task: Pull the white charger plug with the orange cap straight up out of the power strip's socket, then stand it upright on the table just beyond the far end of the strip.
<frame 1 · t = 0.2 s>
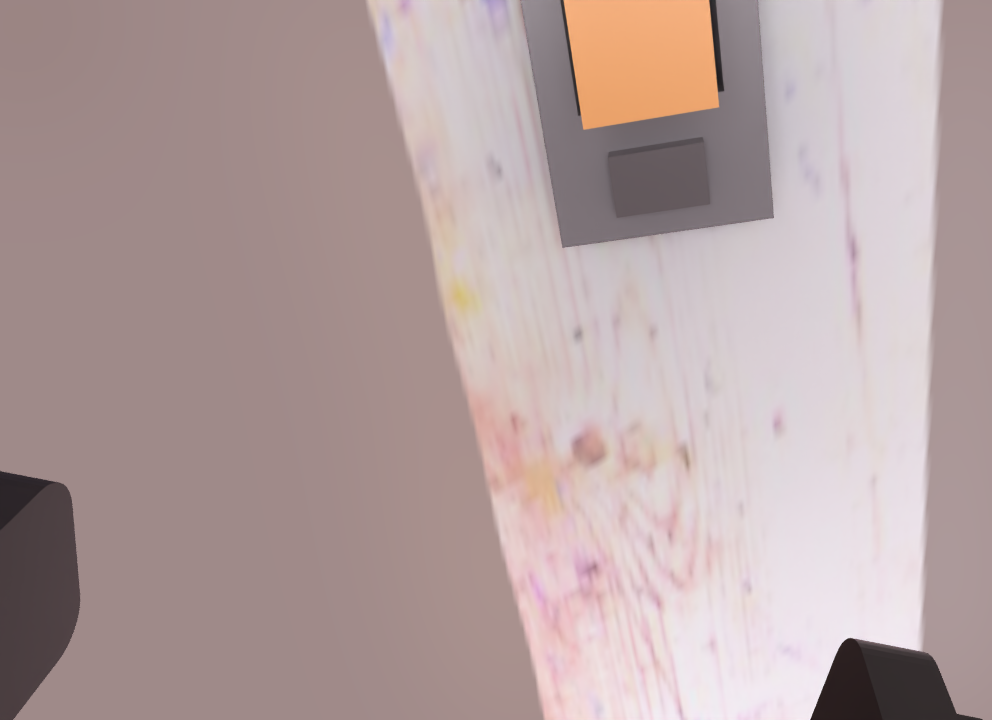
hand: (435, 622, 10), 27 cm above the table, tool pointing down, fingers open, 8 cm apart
charger plug: (638, 6, 31), point 1 cm above the table, touching power strip
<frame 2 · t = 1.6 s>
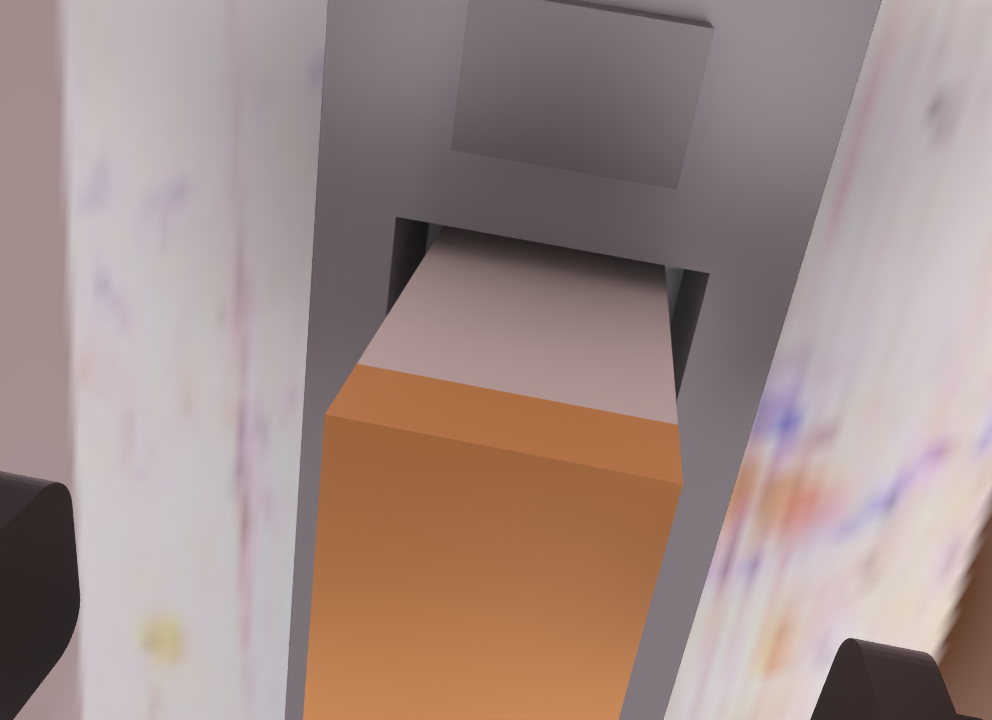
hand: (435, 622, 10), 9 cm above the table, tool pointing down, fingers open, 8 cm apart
charger plug: (540, 332, 17), point 1 cm above the table, touching power strip
power strip: (514, 482, 20), on the table
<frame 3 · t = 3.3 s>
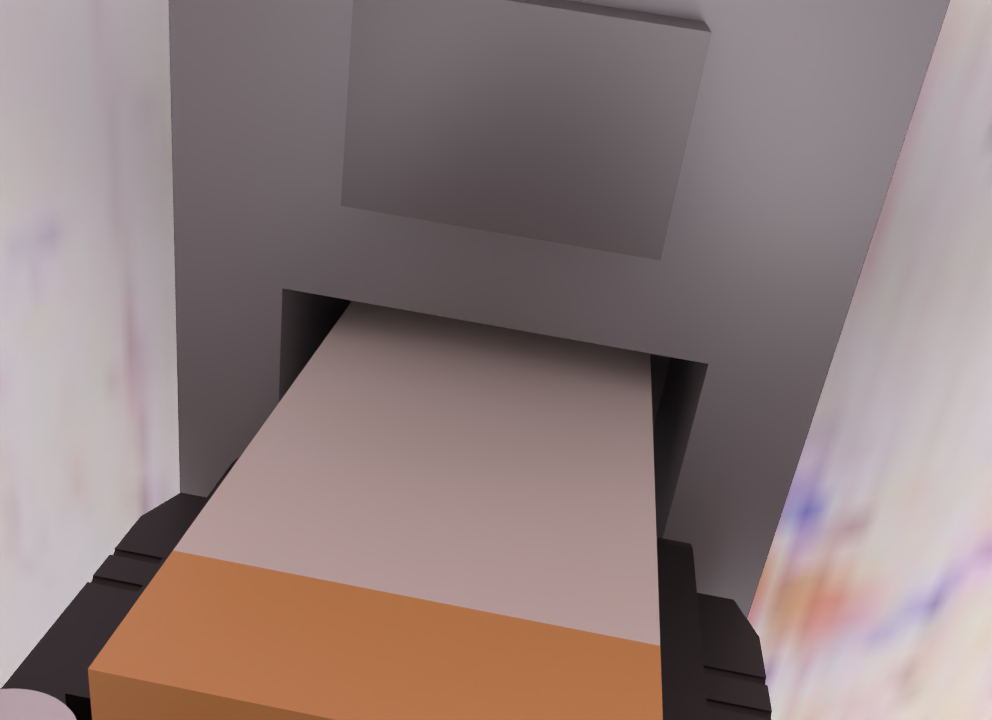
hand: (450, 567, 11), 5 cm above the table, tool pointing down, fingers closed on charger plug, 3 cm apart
charger plug: (496, 409, 14), point 1 cm above the table, touching gripper, power strip
power strip: (474, 578, 17), on the table
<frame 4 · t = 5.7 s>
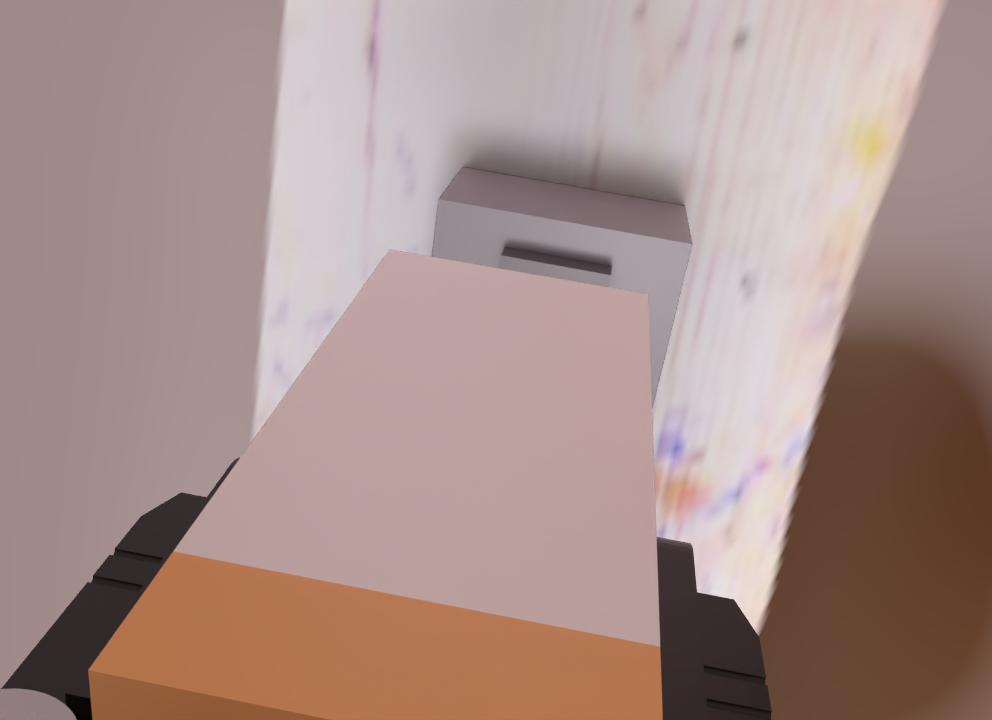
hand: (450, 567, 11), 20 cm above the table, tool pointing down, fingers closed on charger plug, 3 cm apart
charger plug: (496, 410, 14), point 17 cm above the table, touching gripper
power strip: (518, 483, 34), on the table
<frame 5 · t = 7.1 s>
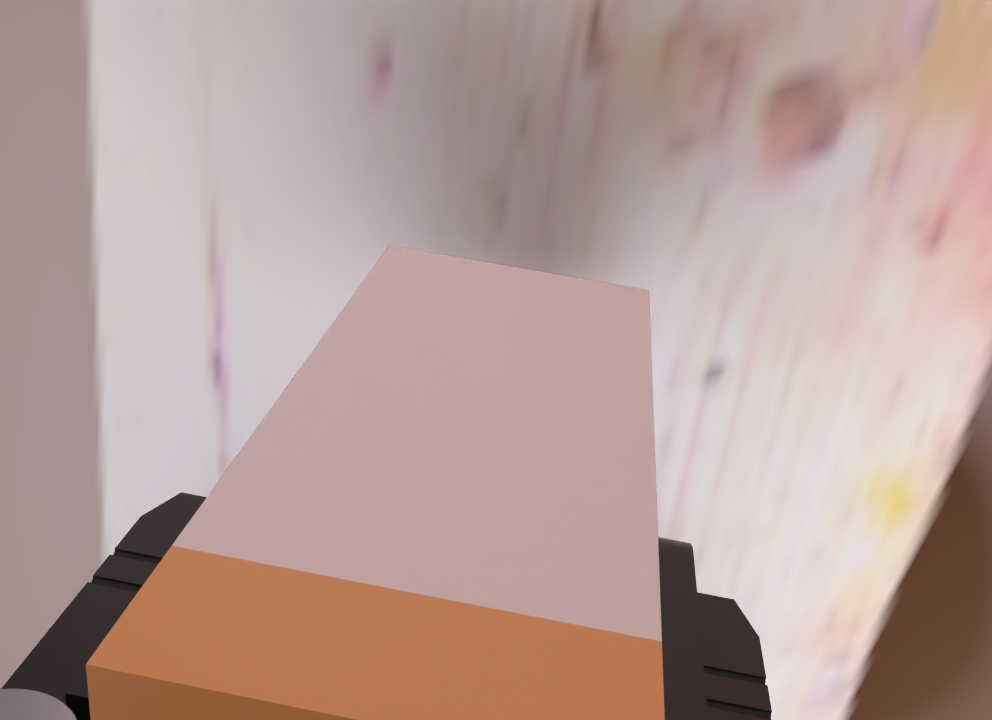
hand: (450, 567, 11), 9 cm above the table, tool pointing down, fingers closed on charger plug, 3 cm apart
charger plug: (496, 406, 14), point 6 cm above the table, touching gripper
when the fingers open (5 cm above the table, at t = 8.3 s): charger plug drops 2 cm, on the table.
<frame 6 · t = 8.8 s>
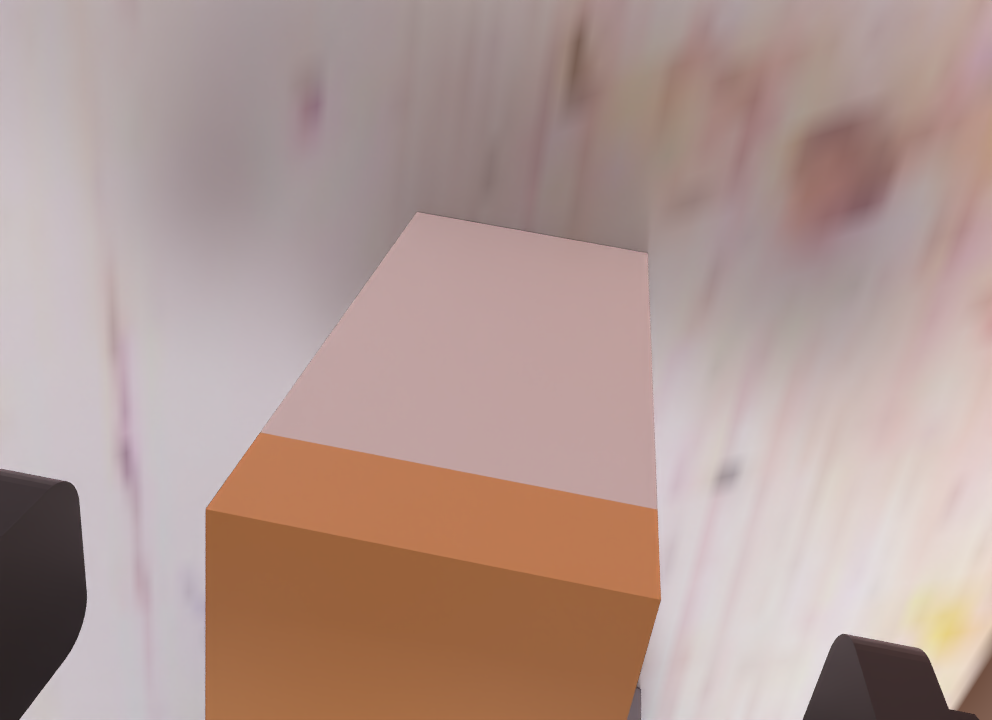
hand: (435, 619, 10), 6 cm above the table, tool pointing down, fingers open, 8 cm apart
charger plug: (510, 359, 15), on the table
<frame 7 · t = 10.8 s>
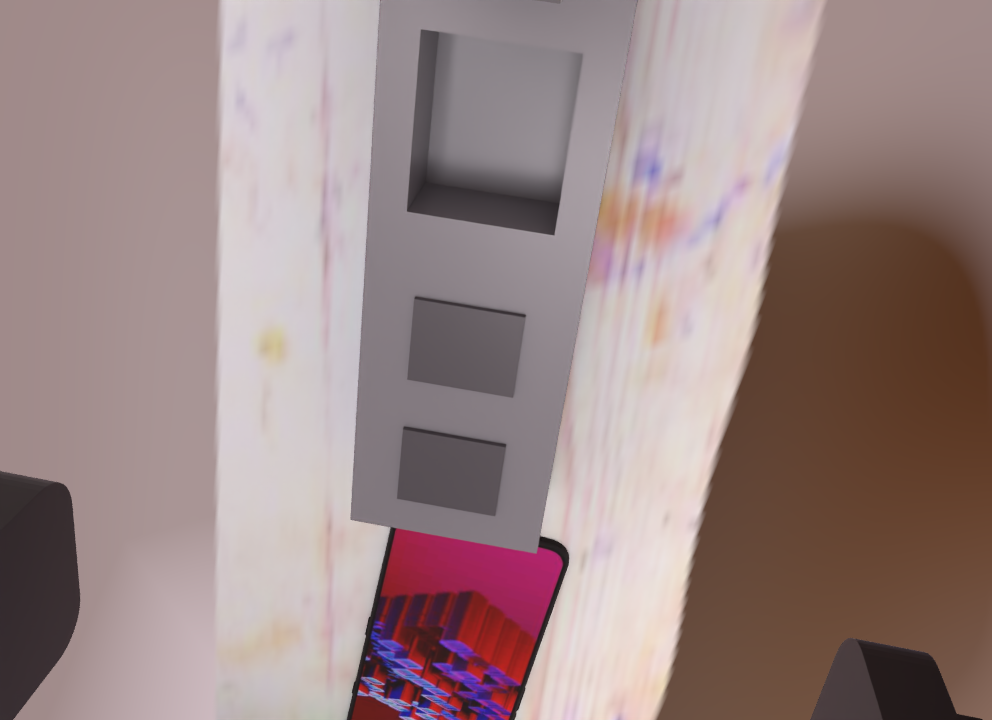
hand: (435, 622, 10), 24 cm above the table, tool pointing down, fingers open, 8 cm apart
power strip: (492, 219, 33), on the table
smartphone: (451, 638, 43), on the table
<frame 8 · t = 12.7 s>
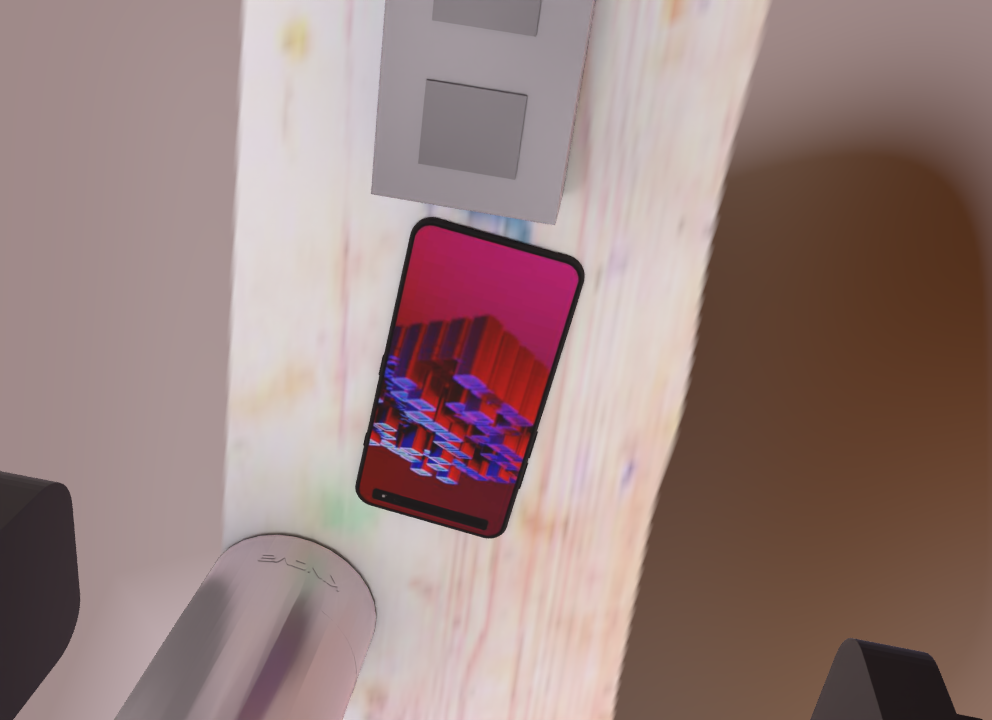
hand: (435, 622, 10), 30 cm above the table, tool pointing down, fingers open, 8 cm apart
smartphone: (464, 381, 43), on the table
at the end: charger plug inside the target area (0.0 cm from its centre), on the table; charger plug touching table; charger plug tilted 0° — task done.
